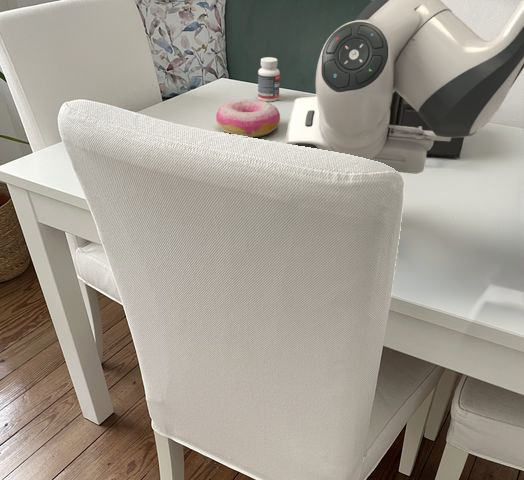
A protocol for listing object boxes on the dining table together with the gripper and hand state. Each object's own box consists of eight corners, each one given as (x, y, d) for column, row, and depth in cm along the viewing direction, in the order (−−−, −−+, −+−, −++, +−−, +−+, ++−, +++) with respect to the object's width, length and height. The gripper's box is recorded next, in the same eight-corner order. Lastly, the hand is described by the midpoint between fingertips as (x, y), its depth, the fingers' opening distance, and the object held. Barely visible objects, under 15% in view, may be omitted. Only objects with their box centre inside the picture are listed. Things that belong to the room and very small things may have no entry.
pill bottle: (277, 102, 138) (278, 62, 132) (256, 101, 139) (256, 61, 133) (280, 95, 142) (281, 57, 136) (259, 94, 143) (260, 55, 137)
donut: (205, 133, 122) (203, 109, 119) (236, 115, 131) (236, 92, 128) (260, 145, 117) (260, 120, 114) (289, 125, 126) (290, 102, 123)
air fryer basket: (459, 164, 109) (470, 123, 103) (399, 160, 110) (406, 119, 105) (452, 131, 122) (460, 93, 117) (398, 127, 123) (404, 89, 118)
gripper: (439, 110, 73) (426, 156, 86) (283, 97, 76) (294, 143, 90) (431, 158, 72) (419, 196, 86) (275, 142, 76) (287, 181, 89)
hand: (354, 169), depth 88 cm, fingers open, 8 cm apart
